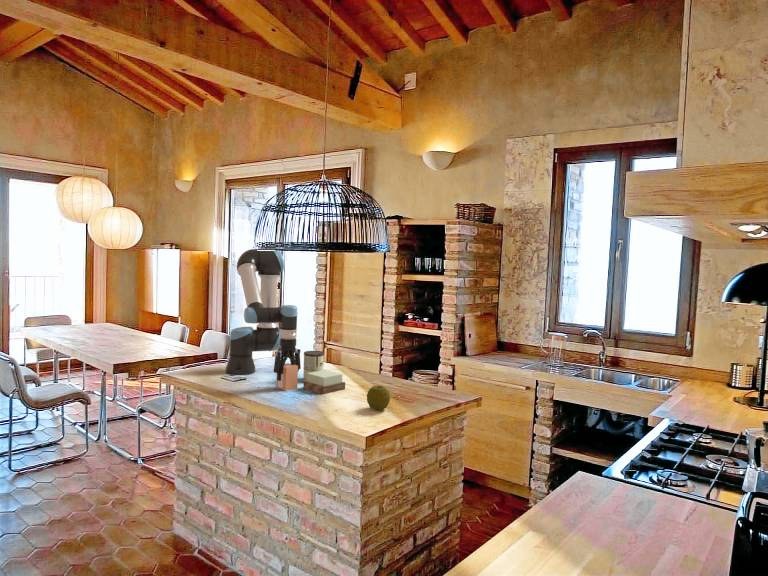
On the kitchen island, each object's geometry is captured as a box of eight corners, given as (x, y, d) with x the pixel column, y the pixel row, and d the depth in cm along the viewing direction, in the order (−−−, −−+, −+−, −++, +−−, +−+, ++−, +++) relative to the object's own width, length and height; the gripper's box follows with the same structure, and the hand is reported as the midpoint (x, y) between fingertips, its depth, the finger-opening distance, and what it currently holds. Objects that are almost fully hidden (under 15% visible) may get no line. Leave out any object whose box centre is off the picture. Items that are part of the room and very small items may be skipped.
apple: (361, 407, 243) (362, 382, 242) (380, 405, 248) (381, 380, 247) (375, 414, 234) (376, 387, 234) (394, 411, 240) (395, 385, 239)
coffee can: (305, 376, 295) (306, 350, 294) (325, 378, 294) (326, 351, 293) (300, 381, 285) (301, 353, 284) (320, 382, 284) (321, 354, 283)
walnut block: (303, 389, 271) (303, 381, 271) (324, 385, 282) (325, 377, 282) (323, 395, 262) (323, 386, 262) (344, 390, 273) (345, 382, 273)
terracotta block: (276, 387, 270) (276, 365, 269) (287, 385, 275) (288, 363, 274) (285, 390, 265) (286, 367, 265) (297, 388, 271) (298, 365, 270)
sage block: (306, 381, 271) (306, 373, 271) (324, 377, 280) (325, 369, 280) (323, 386, 263) (324, 377, 263) (342, 382, 272) (342, 374, 272)
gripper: (276, 341, 259) (274, 390, 260) (309, 337, 274) (308, 384, 275) (266, 338, 264) (264, 387, 265) (299, 335, 279) (297, 381, 280)
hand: (286, 385), depth 270 cm, fingers closed on terracotta block, 7 cm apart
